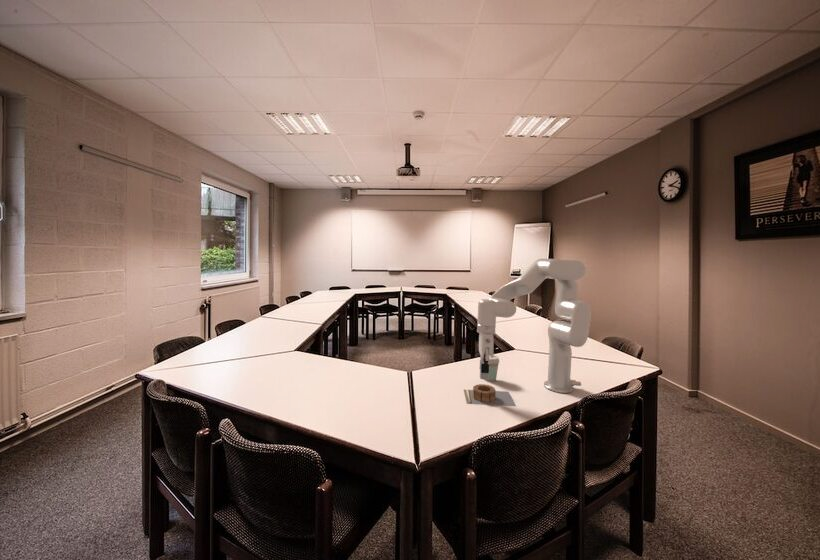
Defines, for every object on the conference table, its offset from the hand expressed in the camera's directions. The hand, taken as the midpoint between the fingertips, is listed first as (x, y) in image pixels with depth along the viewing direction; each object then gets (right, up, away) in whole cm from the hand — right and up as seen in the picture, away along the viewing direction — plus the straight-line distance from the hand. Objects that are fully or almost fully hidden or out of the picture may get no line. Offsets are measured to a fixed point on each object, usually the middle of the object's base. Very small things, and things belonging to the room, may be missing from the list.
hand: (484, 370), depth 137 cm
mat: (+2, -12, +1) cm, 13 cm away
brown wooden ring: (0, -12, +1) cm, 12 cm away
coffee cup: (+8, -11, +21) cm, 25 cm away
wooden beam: (0, -3, 0) cm, 3 cm away
